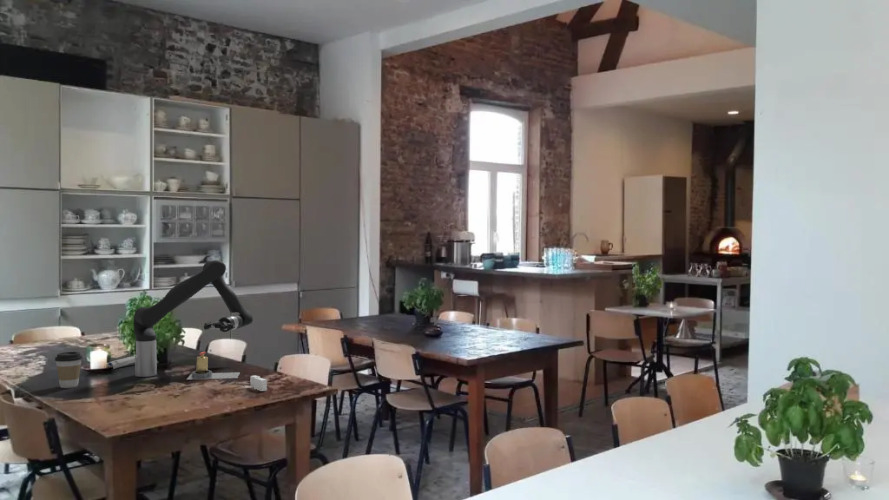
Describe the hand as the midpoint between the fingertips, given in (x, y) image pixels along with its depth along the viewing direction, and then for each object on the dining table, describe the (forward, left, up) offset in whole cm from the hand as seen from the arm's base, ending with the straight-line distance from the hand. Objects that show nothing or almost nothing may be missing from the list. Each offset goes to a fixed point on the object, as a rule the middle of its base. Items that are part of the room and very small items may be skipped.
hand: (212, 327), depth 356 cm
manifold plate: (+2, -10, -23) cm, 25 cm away
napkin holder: (+24, -34, -24) cm, 48 cm away
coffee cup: (-61, -17, -23) cm, 67 cm away
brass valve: (-4, -10, -22) cm, 24 cm away
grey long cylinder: (-45, +30, -24) cm, 59 cm away
